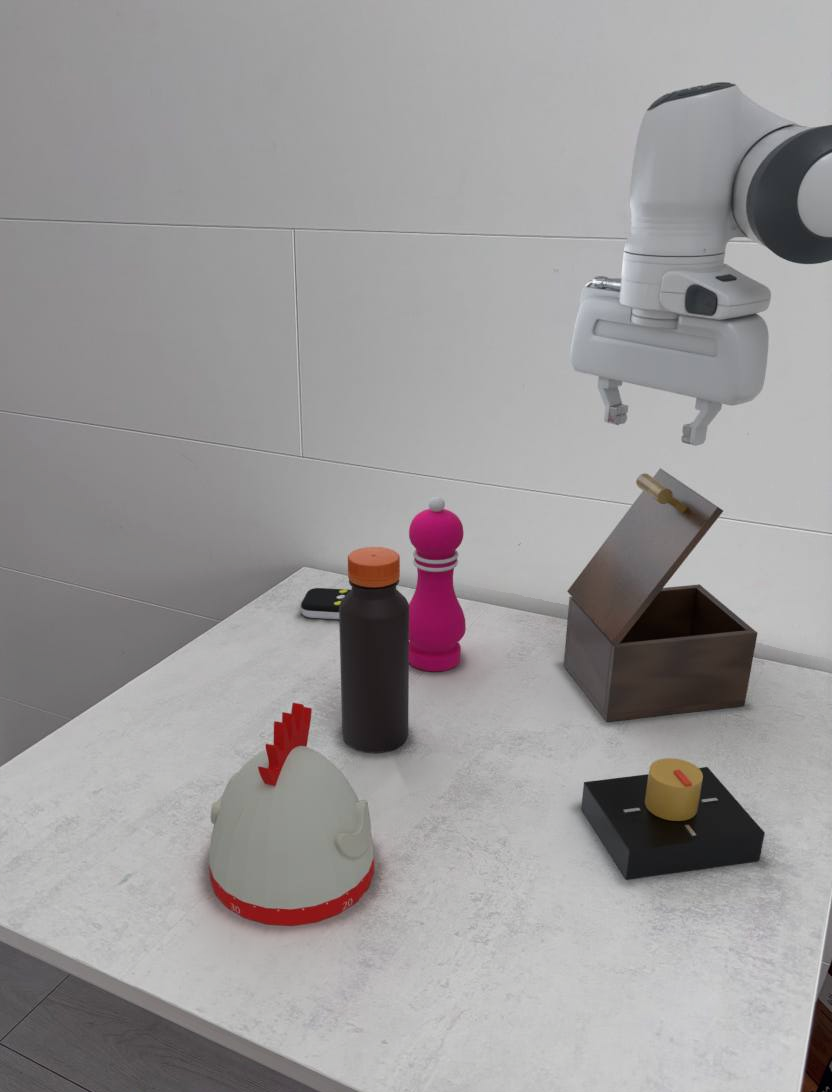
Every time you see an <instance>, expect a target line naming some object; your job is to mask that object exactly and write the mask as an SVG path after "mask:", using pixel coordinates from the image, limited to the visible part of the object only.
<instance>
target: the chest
mask: <svg viewBox="0 0 832 1092" xmlns="http://www.w3.org/2000/svg"><path fill="white" fill-rule="evenodd" d="M568 598H569V599H568V608H567V609H568V610H567V620H566V632H565V646H564V656H563V667H564V668H565V670H566V671H567V673H569V675H570V676H571V677H572V679H573V680H574V682H576V684H577V685H578V687H579V688H580V689H581V690H582V692H583V693H584V694H585V696H586V697H587V698H588V700H589V701H590V702H591V704H592V705H593V707H594V708H595V709H596V710H597V711H598V713H599V714H600V715H601V717H602V718H603V719H604V720H605V722H607V723H608V722H618V721H625V720H634V719H643V718H653V717H659V716H668V715H669V716H670V715H678V714H688V713H695V712H704V711H712V710H720V709H721V710H722V709H729V708H738V707H744V706H745V704H746V699H747V694H748V688H749V684H750V683H749V682H750V678H751V672H752V666H753V660H754V655H755V649H756V645H757V644H756V643H757V639H758V631H756V630H755V629H754V628H753V627H751V626H750V625H749V624H748V623H747V622H745V620H743V619H742V618H741V617H739V616H738V615H737V614H736V613H734V612H733V611H732V610H731V609H730V608H729V607H728V606H726V605H725V604H724V603H723V602H722V601H720V600H719V599H718V598H716V597H715V596H714V595H713V594H712V593H710V592H709V591H708V590H707V589H706V588H705V587H703V586H702V585H701V584H690V585H689V584H688V585H679V586H670V587H668V586H667V587H663V588H662V590H661V591H660V592H659V594H658V595H657V596H656V597H655V599H654V600H653V601H652V602H651V604H650V605H649V606H648V608H647V609H646V610H645V611H644V613H643V614H642V615H641V616H640V618H639V619H638V620H637V621H636V623H635V624H634V625H633V627H632V628H631V629H630V630H629V632H628V633H627V634H626V635H625V637H624V638H623V639H622V641H621V642H620V643H619V644H618V645H617V644H615V643H614V642H612V641H611V640H610V639H609V637H608V636H607V635H606V634H605V633H604V632H603V631H602V630H601V629H600V627H599V626H598V625H597V624H596V623H595V622H594V621H593V620H592V619H591V617H590V616H589V615H588V614H587V613H586V612H585V611H584V610H583V608H582V607H581V606H580V605H579V604H578V603H577V602H576V601H575V600H574V598H573V597H572V596H569V597H568Z"/></svg>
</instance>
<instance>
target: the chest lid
mask: <svg viewBox="0 0 832 1092" xmlns="http://www.w3.org/2000/svg"><path fill="white" fill-rule="evenodd" d="M635 484H636V486H637V487H638V488H639V489H640V490H641V493H640V494H639V495H638V496H637V498H636V499H635V501H634V502H633V503H632V505H631V506H630V507H629V509H628V510H627V511H626V512H625V514H623V516H622V518H621V519H620V520H619V521H618V523H617V524H616V525H615V527H614V529H612V531H611V532H610V534H609V535H608V536H607V537H606V539H605V540H604V542H603V543H602V544H601V546H599V548H598V550H597V551H596V552H595V554H594V555H593V556H592V558H591V559H590V561H588V562H587V564H586V565H585V566H584V568H583V570H582V571H581V572H580V574H579V575H578V576H577V578H576V579H575V580H574V581H573V582H572V584H571V585H570V586H569V588H568V589H567V591H566V592H567V593H568V594H569V595H570V597H573V598H574V600H575V601H576V602H577V603H578V604H579V605H580V606H581V607H582V608H583V610H584V611H585V612H586V613H587V614H588V615H589V616H590V617H591V619H592V620H593V621H594V622H595V623H596V624H597V625H598V626H599V627H600V629H601V630H602V631H603V632H604V633H605V634H606V635H607V636H608V637H609V639H610V640H611V641H612V642H614V643H615V644H617V645H618V644H619V643H620V642H621V641H622V639H623V638H624V637H625V635H626V634H627V633H628V632H629V630H630V629H631V628H632V627H633V625H634V624H635V623H636V621H637V620H638V619H639V618H640V616H641V615H642V614H643V613H644V611H645V610H646V609H647V608H648V606H649V605H650V604H651V602H652V601H653V600H654V599H655V597H656V596H657V595H658V594H659V592H660V591H661V590H662V588H665V586H666V585H667V584H668V583H669V581H670V580H671V578H672V577H673V576H674V575H675V573H676V572H677V571H678V570H679V568H680V567H681V566H682V565H683V563H684V562H685V561H686V559H687V558H688V557H689V556H690V554H691V553H692V552H693V551H694V550H695V548H696V547H697V546H698V544H699V543H700V542H701V540H702V539H703V538H704V537H705V535H706V534H707V533H708V532H709V530H710V529H711V528H712V527H713V525H714V524H715V523H716V521H717V520H718V519H719V518H720V516H721V515H722V514H723V512H724V510H723V509H722V508H720V507H719V506H717V505H716V504H715V503H713V502H711V501H710V500H709V499H707V498H705V497H704V496H703V495H701V494H700V493H698V492H696V491H695V490H693V488H691V487H689V486H688V485H686V484H685V483H683V482H682V481H680V480H679V479H677V478H676V477H674V476H673V475H671V474H669V473H668V472H666V471H665V470H664V469H663V468H661V467H659V469H658V470H657V471H656V472H655V474H654V476H652V475H650V474H649V473H641V474H640V475H638V476H637V478H636V481H635Z"/></svg>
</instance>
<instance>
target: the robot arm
mask: <svg viewBox="0 0 832 1092" xmlns="http://www.w3.org/2000/svg"><path fill="white" fill-rule="evenodd" d="M631 168H632V169H631V177H630V184H629V185H630V186H629V195H628V197H629V198H628V203H629V208H630V217H631V218H630V219H631V221H630V227H629V232H628V235H627V238H626V240H625V243H624V246H623V247H624V249H623V257H622V265H621V266H622V267H621V277H617V278H616V277H614V278H613V277H611V278H610V277H607V276H605V275H597V276H594V277H593V279H591V280H589V281H588V282H587V283H586V284H585V285H584V287H582V290H581V292H580V303H579V309H578V312H577V316H576V320H575V323H574V327H573V328H574V329H573V334H572V338H571V339H572V340H571V347H570V354H569V355H570V356H569V361H570V363H571V365H572V368H573V370H574V371H575V372H577V373H582V374H586V375H591V376H594V377H597V389H598V392H599V395H600V398H601V400H602V403H603V406H605V407H604V418H603V420H604V422H605V423H607V424H611V425H615V426H619V425H624V424H625V423H626V422H627V420H628V415H627V413H628V412H629V405H627V404H624V403H623V401H622V396H621V394H620V390H619V387H621V386H623V383H627V384H630V385H636V386H640V387H645V388H650V389H654V390H659V391H663V392H667V393H671V394H677V395H681V396H686V397H690V398H695V406H694V409H695V410H696V411H699V412H698V413H697V415H696V416H695V418H694V420H693V421H692V422H690V423H685V424H683V425H682V431H681V433H682V435H681V439H680V440H681V442H682V443H684V444H687V445H691V446H695V447H696V446H701V445H703V444H704V443H705V442H706V440H707V433H708V428H709V427H708V426H709V425H710V424H711V423H712V422H713V420H714V419H715V418H716V417H717V415H718V414H719V413H720V411H721V410H722V406H723V405H727V406H731V407H733V406H738V405H742V404H747V403H749V402H752V401H753V400H755V399H756V398H757V396H759V394H761V392H762V391H763V388H764V384H765V380H766V372H767V366H768V354H769V339H770V338H769V337H770V335H769V328H768V325H767V321H765V319H764V317H762V316H761V315H760V313H762V312H765V311H767V310H768V309H769V306H770V303H771V299H772V292H771V290H770V288H769V287H768V286H767V285H765V284H763V283H761V282H759V281H758V280H755V279H753V278H751V277H749V276H748V275H746V274H744V273H742V272H740V271H739V270H737V269H735V268H734V267H732V266H731V265H729V264H727V263H725V257H726V248H727V244H728V243H729V242H730V240H732V239H735V238H746V239H748V240H751V241H752V242H754V243H756V244H758V245H760V246H763V247H765V248H767V249H768V250H769V251H771V252H772V253H773V254H775V255H776V256H778V257H779V258H781V259H783V260H785V261H787V262H791V263H795V264H799V265H800V264H801V265H817V264H822V263H827V262H831V261H832V124H827V125H821V126H806V125H800V124H798V123H796V122H794V121H792V120H789V119H787V118H784V117H782V116H780V115H778V114H776V113H774V112H772V111H770V110H768V109H766V107H765V108H764V107H763V106H761V105H760V104H758V103H757V102H755V101H754V100H753V99H752V98H750V97H749V96H747V95H746V94H744V93H743V91H742V90H741V89H740V87H739V85H737V84H736V83H731V82H727V81H718V82H712V83H709V84H702V85H695V86H692V87H686V88H682V89H679V90H674V91H672V92H668V93H665V94H663V95H662V96H660V97H657V99H656V100H654V101H653V102H652V103H651V104H650V105H649V107H648V108H647V109H646V111H645V113H644V115H643V117H642V119H641V124H640V126H639V129H638V134H637V138H636V144H635V149H634V155H633V161H632V167H631Z"/></svg>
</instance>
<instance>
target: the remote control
mask: <svg viewBox="0 0 832 1092" xmlns="http://www.w3.org/2000/svg"><path fill="white" fill-rule="evenodd" d="M351 590H352V589H347V588H346V589H345V588H328V587H325V588H324V587H314V588H310V589H309V590H307V592H306V593H305V594H304V596H303V599H302V601H301V603H300V612H301V614H302V615H303V616H304V617H307V618H310V619H327V620H339V605H340V603H341V600H342V599H343V598H344V597H345V596H346V595H347V594H348V593H349V592H350V591H351Z"/></svg>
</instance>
